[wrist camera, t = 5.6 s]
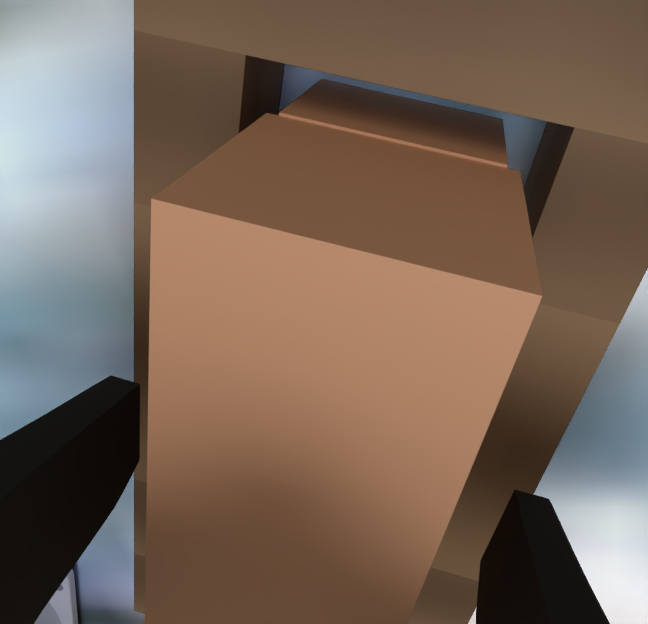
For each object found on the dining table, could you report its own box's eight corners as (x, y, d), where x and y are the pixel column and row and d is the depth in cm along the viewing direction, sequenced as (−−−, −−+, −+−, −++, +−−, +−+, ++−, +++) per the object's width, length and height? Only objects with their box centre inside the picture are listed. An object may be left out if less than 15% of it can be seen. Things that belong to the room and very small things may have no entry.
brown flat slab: (432, 624, 20) (426, 704, 18) (169, 543, 21) (134, 610, 19) (741, -57, 10) (813, -60, 8) (203, -158, 11) (134, -185, 8)
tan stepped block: (379, 530, 18) (330, 809, 12) (250, 492, 19) (142, 743, 13) (512, 122, 12) (544, 292, 6) (311, 76, 12) (150, 193, 6)
